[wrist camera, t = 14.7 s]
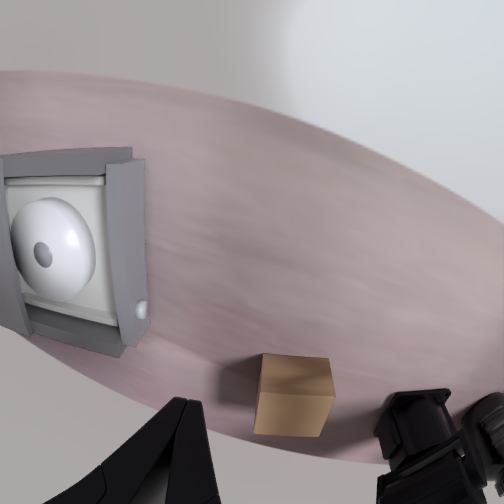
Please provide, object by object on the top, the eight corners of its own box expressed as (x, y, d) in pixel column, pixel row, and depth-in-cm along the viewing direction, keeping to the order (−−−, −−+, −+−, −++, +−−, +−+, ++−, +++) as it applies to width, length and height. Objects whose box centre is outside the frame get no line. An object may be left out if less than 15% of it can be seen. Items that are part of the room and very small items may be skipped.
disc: (92, 198, 17) (77, 205, 15) (101, 298, 19) (90, 310, 18) (19, 195, 17) (4, 201, 15) (32, 283, 20) (20, 292, 18)
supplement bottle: (450, 433, 26) (478, 510, 15) (475, 395, 23) (516, 478, 12) (489, 422, 26) (519, 489, 14) (513, 385, 23) (554, 455, 12)
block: (328, 358, 22) (335, 396, 18) (314, 400, 24) (318, 437, 20) (263, 353, 22) (260, 392, 18) (256, 396, 24) (253, 433, 20)
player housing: (132, 147, 17) (92, 153, 13) (140, 324, 22) (115, 363, 18) (-4, 156, 18) (-44, 166, 13) (16, 294, 23) (-14, 319, 18)
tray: (152, 158, 17) (130, 164, 14) (156, 323, 21) (142, 348, 19) (14, 162, 18) (-12, 169, 15) (33, 296, 22) (13, 312, 19)
